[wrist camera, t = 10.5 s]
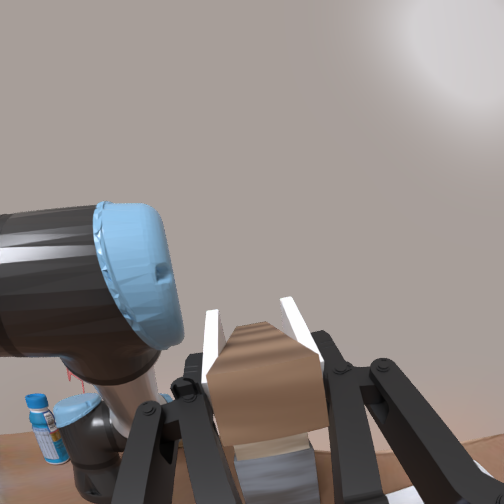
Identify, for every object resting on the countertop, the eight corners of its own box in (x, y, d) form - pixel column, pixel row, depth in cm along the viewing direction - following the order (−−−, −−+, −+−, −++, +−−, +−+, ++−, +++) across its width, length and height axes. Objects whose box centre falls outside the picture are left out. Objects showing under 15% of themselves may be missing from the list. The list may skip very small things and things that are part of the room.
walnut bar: (329, 426, 8) (318, 354, 9) (223, 446, 8) (205, 375, 9) (269, 342, 36) (265, 321, 36) (240, 348, 36) (236, 326, 36)
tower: (320, 505, 29) (301, 367, 35) (250, 517, 29) (214, 382, 34) (301, 458, 48) (283, 348, 53) (249, 467, 47) (225, 358, 53)
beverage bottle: (47, 467, 36) (22, 400, 40) (43, 455, 41) (22, 393, 45) (73, 463, 42) (49, 397, 46) (67, 452, 48) (47, 391, 52)
